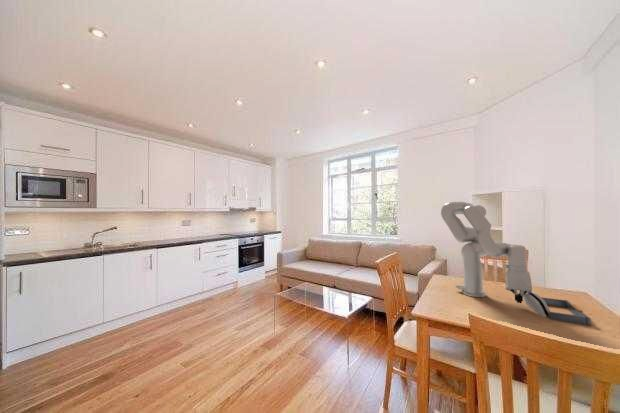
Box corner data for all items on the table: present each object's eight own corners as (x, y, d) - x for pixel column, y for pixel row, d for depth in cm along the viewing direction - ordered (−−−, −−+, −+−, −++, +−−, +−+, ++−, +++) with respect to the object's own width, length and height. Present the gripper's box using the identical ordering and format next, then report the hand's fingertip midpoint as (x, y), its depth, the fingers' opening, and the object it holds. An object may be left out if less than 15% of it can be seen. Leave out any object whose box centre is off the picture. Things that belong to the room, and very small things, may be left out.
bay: (550, 319, 110) (550, 311, 110) (534, 302, 130) (534, 295, 130) (591, 326, 104) (591, 317, 104) (567, 306, 123) (567, 299, 123)
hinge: (557, 318, 112) (547, 298, 113) (545, 320, 113) (536, 300, 114) (537, 304, 127) (528, 286, 128) (526, 306, 129) (518, 289, 130)
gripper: (501, 268, 125) (502, 302, 125) (538, 271, 118) (540, 307, 118) (498, 265, 132) (499, 297, 132) (533, 267, 124) (535, 302, 124)
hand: (518, 302), depth 125 cm, fingers closed
